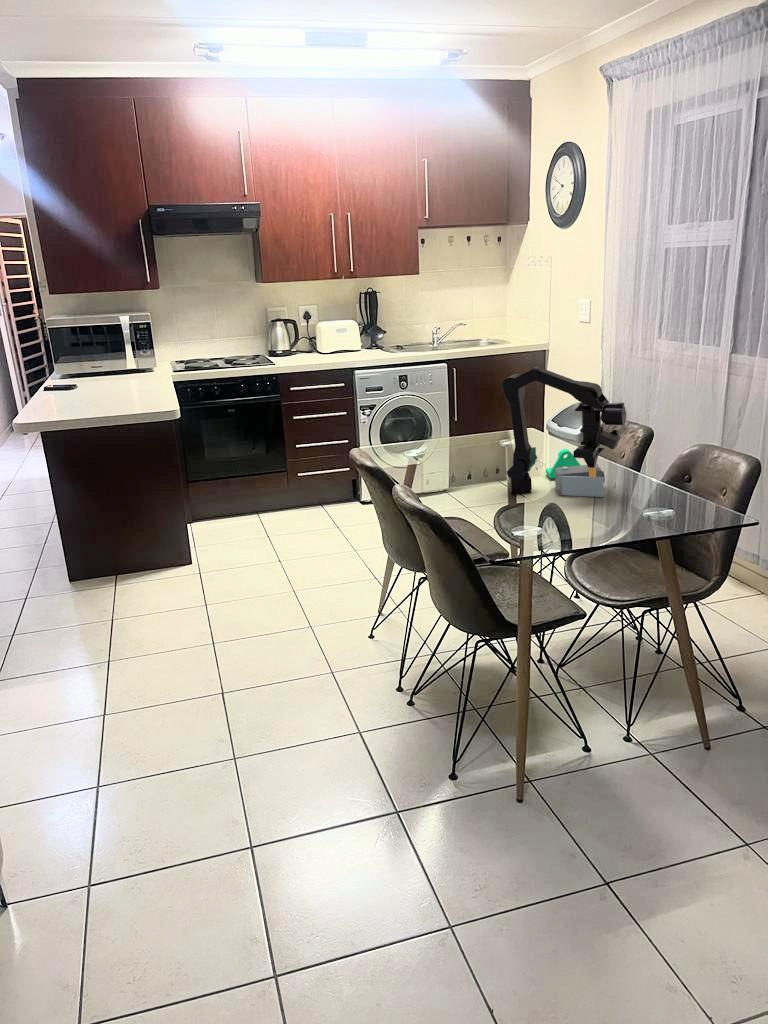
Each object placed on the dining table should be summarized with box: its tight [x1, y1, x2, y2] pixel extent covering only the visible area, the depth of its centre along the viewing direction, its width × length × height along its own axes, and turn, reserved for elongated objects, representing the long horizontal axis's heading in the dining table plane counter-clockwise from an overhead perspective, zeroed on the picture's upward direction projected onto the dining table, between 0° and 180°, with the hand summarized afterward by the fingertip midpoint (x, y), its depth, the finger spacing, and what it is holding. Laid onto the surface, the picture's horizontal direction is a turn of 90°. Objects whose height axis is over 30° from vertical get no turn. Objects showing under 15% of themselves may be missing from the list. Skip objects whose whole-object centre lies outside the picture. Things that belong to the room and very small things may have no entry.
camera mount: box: [545, 448, 581, 479], centre depth 265 cm, size 12×8×10 cm, turn 91°
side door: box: [558, 467, 605, 498], centre depth 243 cm, size 14×1×10 cm, turn 62°
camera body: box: [554, 463, 606, 493], centre depth 250 cm, size 15×8×8 cm, turn 86°
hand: (592, 471), depth 241 cm, fingers closed
